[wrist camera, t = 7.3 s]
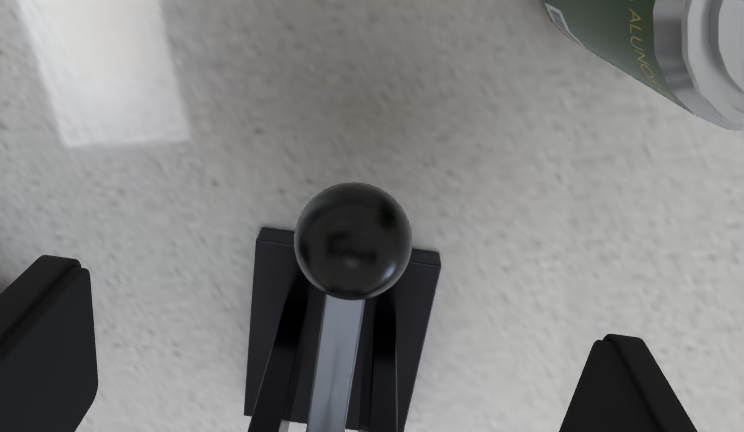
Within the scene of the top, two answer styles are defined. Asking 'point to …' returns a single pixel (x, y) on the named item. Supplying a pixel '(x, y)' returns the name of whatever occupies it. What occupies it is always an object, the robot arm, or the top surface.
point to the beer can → (668, 48)
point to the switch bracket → (301, 336)
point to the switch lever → (347, 281)
